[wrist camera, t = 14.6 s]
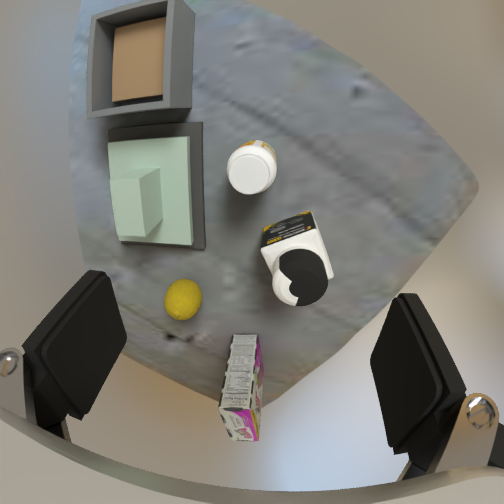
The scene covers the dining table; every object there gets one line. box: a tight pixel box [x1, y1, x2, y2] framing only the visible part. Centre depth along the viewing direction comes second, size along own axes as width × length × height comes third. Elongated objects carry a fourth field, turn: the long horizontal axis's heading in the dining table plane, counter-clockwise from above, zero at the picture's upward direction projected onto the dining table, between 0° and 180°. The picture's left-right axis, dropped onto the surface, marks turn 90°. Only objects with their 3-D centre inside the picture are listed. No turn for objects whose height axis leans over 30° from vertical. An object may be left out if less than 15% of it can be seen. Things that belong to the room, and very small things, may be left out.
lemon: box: [164, 279, 202, 320], centre depth 42 cm, size 6×6×8 cm
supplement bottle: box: [227, 140, 277, 194], centre depth 32 cm, size 5×5×10 cm
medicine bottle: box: [261, 210, 334, 306], centre depth 35 cm, size 7×7×12 cm
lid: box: [108, 136, 194, 245], centre depth 34 cm, size 15×12×8 cm
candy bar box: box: [218, 334, 264, 441], centre depth 45 cm, size 11×5×16 cm, turn 7°
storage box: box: [87, 0, 195, 119], centre depth 27 cm, size 14×11×8 cm
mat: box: [109, 122, 206, 249], centre depth 38 cm, size 18×14×1 cm
